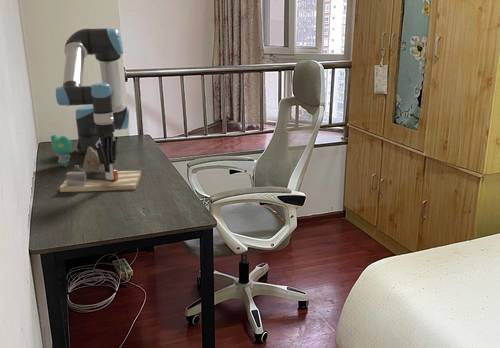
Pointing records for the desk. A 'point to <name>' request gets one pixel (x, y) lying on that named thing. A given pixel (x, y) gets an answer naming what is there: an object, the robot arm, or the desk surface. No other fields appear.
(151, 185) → the desk surface
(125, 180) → the board
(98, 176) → the lever
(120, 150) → the desk surface
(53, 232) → the desk surface
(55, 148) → the toy
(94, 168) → the rock
